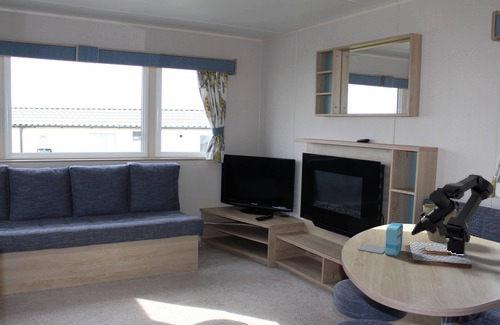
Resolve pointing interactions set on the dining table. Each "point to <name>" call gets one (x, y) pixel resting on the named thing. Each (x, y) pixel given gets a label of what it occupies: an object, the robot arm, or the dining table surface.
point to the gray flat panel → (372, 248)
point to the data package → (393, 239)
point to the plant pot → (436, 235)
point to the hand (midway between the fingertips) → (411, 234)
